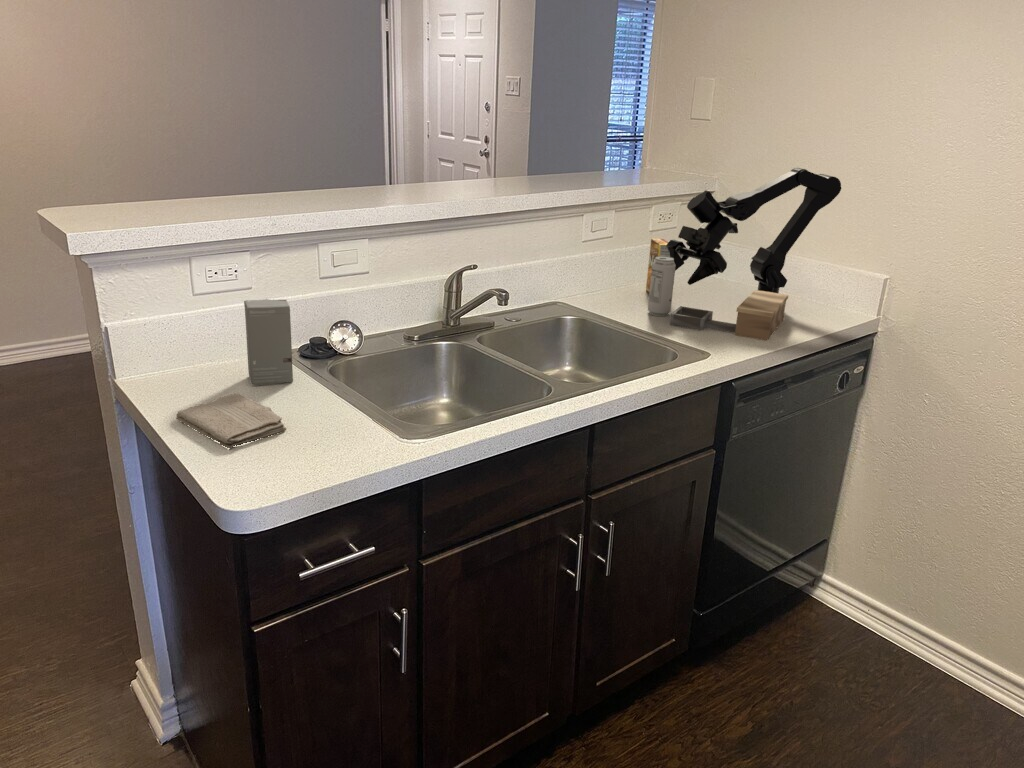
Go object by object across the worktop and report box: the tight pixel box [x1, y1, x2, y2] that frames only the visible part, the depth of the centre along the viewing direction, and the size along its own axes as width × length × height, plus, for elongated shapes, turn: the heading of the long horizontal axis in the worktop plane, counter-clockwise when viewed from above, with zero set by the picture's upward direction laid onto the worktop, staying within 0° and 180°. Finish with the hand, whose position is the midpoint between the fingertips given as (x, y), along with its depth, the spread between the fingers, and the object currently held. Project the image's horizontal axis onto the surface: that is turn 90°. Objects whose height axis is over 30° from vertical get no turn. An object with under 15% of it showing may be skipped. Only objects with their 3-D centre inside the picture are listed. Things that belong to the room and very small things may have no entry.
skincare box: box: [243, 298, 294, 387], centre depth 157 cm, size 8×7×16 cm
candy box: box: [645, 238, 670, 293], centre depth 230 cm, size 9×4×15 cm, turn 9°
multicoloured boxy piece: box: [668, 289, 789, 341], centre depth 206 cm, size 22×25×7 cm
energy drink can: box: [647, 256, 676, 317], centre depth 210 cm, size 6×6×15 cm
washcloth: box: [175, 393, 287, 449], centre depth 139 cm, size 12×18×3 cm, turn 50°
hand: (676, 279), depth 212 cm, fingers open, 9 cm apart
